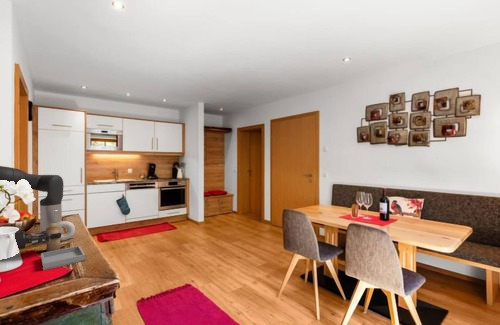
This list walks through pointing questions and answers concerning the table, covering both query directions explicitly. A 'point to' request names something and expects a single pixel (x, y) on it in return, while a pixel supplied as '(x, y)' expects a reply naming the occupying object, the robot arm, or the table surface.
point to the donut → (69, 227)
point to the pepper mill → (53, 243)
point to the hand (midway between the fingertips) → (60, 233)
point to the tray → (62, 257)
